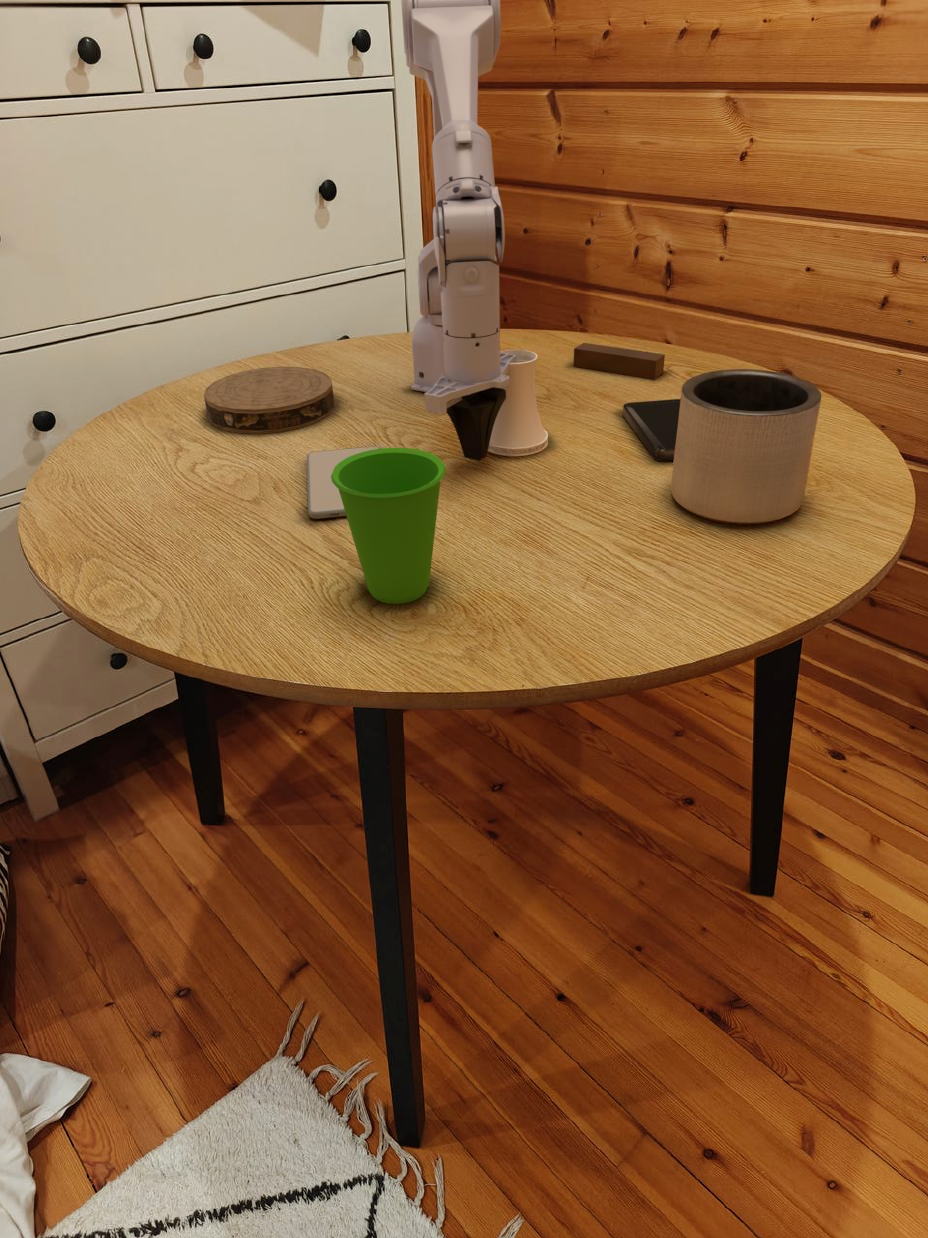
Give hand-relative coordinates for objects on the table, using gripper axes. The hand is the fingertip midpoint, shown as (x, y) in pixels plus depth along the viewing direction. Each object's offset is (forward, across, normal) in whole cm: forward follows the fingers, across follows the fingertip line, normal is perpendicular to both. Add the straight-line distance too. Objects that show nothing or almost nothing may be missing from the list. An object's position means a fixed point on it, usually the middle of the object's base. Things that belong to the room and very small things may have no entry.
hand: (475, 456), depth 97 cm
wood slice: (+1, +2, +32) cm, 32 cm away
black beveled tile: (+1, +18, -15) cm, 24 cm away
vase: (+1, +7, -1) cm, 7 cm away
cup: (+1, -25, -8) cm, 26 cm away
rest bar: (+1, +36, 0) cm, 36 cm away
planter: (+1, +5, -27) cm, 28 cm away
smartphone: (+1, -11, +9) cm, 14 cm away
